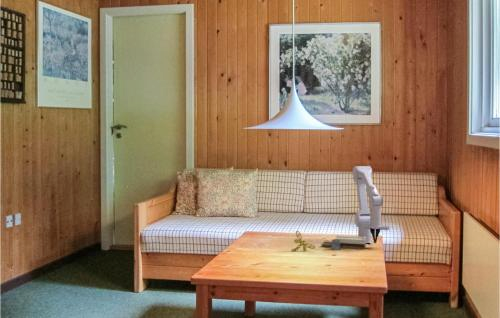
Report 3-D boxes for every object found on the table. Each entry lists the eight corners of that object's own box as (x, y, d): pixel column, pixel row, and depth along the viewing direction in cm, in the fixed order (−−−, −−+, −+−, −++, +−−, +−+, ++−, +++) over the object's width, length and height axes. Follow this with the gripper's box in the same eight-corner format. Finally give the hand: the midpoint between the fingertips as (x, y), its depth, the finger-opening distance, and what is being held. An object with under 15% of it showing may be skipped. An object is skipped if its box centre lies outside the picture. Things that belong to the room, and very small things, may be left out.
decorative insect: (302, 260, 289) (315, 246, 287) (302, 261, 285) (315, 247, 284) (284, 243, 290) (297, 229, 288) (284, 244, 286) (297, 230, 285)
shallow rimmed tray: (336, 241, 307) (336, 235, 307) (365, 243, 303) (365, 236, 303) (334, 244, 298) (334, 238, 298) (364, 246, 294) (364, 240, 294)
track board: (324, 243, 310) (324, 240, 310) (365, 245, 304) (365, 243, 304) (321, 247, 298) (321, 244, 298) (364, 249, 293) (364, 247, 293)
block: (332, 248, 295) (332, 239, 295) (339, 248, 294) (340, 239, 294) (331, 249, 291) (331, 240, 291) (339, 250, 290) (339, 240, 290)
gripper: (361, 218, 295) (361, 243, 295) (389, 219, 291) (388, 244, 291) (362, 216, 301) (361, 240, 302) (389, 217, 298) (388, 242, 298)
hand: (375, 242), depth 297 cm, fingers closed
